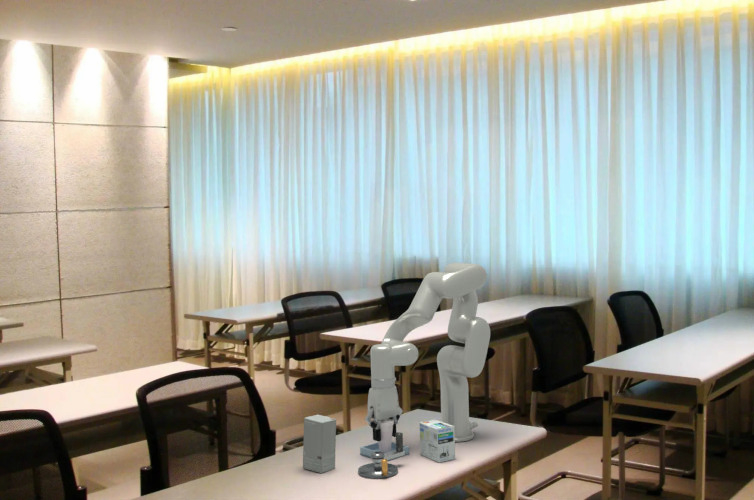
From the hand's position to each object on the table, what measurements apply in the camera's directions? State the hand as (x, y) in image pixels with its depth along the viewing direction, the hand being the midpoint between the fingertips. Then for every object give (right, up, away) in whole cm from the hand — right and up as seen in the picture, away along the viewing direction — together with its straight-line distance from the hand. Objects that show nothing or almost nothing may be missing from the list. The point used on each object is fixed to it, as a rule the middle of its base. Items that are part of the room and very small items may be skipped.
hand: (384, 437), depth 260 cm
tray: (0, -5, 0) cm, 5 cm away
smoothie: (0, -4, 0) cm, 4 cm away
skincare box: (-20, -7, -12) cm, 24 cm away
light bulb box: (+17, -5, -4) cm, 18 cm away
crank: (+1, -3, -15) cm, 15 cm away
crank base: (-2, -6, -17) cm, 18 cm away
